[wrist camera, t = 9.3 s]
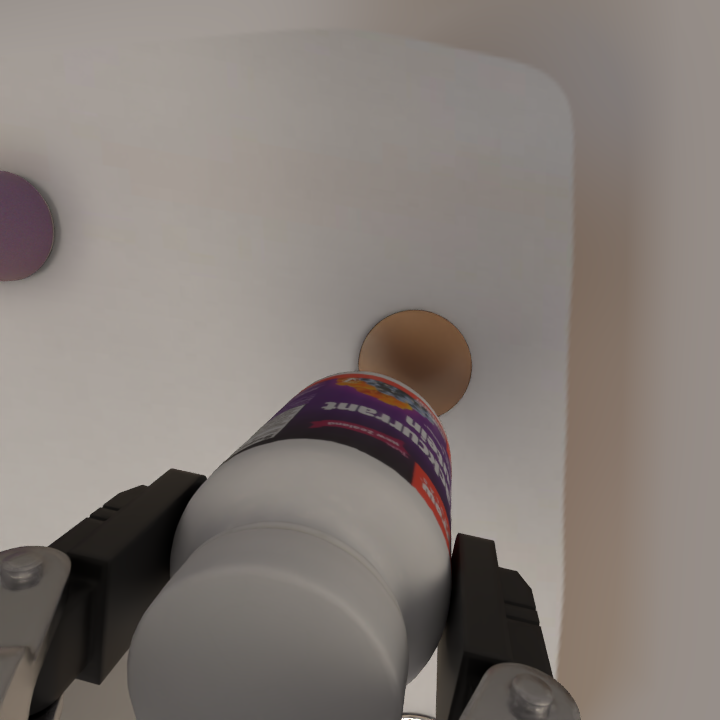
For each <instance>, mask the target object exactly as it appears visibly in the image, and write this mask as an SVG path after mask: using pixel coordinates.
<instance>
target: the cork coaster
mask: <svg viewBox="0 0 720 720" xmlns="http://www.w3.org/2000/svg"><path fill="white" fill-rule="evenodd" d="M358 365H359V371H364V372H373V373H378V374H382V375H385V376H388V377H390V378H393V379H395V380H397V381H399V382H401V383H403V384H405V385H407V386H408V387H410V388H411V389H413V390H414V391H415V392H417V393H418V394H419V395H420V396H421V397H422V398H423V399H424V400H425V401H426V402H427V403H428V404H429V405H430V406H431V408H432V409H433V410H434V412H435V413H436V415H437V416H440V415H442V414H444V413H446V412H447V411H449V410H450V409H451V408H453V407H454V406H455V405H456V404H457V403H458V402H459V400H460V399H461V398H462V396H463V395H464V393H465V391H466V389H467V387H468V385H469V381H470V378H471V371H472V362H471V355H470V351H469V348H468V345H467V343H466V341H465V339H464V337H463V336H462V334H461V333H460V331H459V330H458V329H457V328H456V327H455V326H454V325H453V324H452V323H451V322H449V321H448V320H447V319H445V318H443V317H441V316H440V315H437V314H435V313H432V312H428V311H423V310H406V311H401V312H398V313H394V314H392V315H390V316H388V317H386V318H385V319H383V320H381V321H380V322H379V323H378V324H376V326H375V327H374V328H373V329H372V330H371V331H370V332H369V334H368V335H367V337H366V338H365V340H364V342H363V345H362V347H361V350H360V355H359V363H358Z"/></svg>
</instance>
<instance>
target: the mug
mask: <svg viewBox="0 0 720 720" xmlns="http://www.w3.org/2000/svg"><path fill="white" fill-rule="evenodd" d="M129 649H130V648H129ZM129 649H128V650H127V652H126V653H125V654H124V655H123V657H122V658H121V659H120V660H119V662H118V663H117V664H116V665H115V667H114V668H113V669H112V670H111V672H110V673H109V674H108V675H107V677H106V678H105V679H104V681H103V682H102V683H101V684H100V685H97V684H93V683H89V682H86V681H82V680H78V679H75V680H74V681H73V682H72V683H71V684H70V686H69V687H68V688H67V689H66V690H65V691H64V705H63V710H62V714H61V717H60V720H137V719H136V717H135V714H134V710H133V706H132V703H131V699H130V695H129V691H128V685H127V660H128V653H129Z"/></svg>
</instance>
